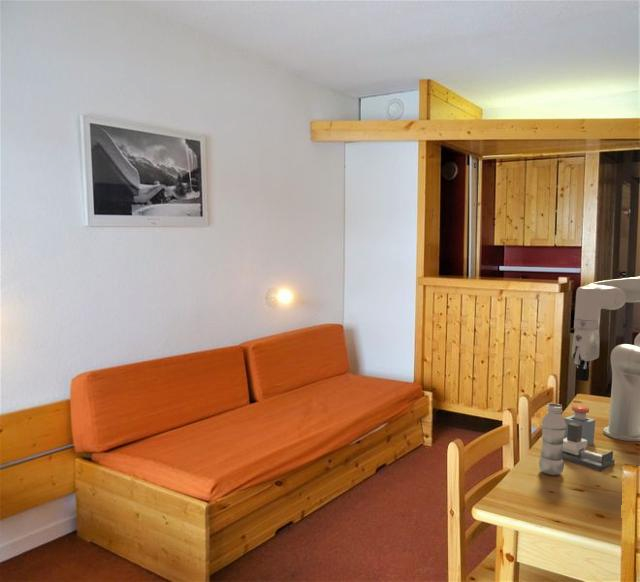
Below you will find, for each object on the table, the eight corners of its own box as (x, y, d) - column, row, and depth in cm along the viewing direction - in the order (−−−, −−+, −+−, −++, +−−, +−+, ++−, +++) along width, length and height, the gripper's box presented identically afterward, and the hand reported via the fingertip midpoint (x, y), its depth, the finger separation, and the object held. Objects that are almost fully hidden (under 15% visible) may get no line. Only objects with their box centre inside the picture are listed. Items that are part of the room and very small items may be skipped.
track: (569, 450, 190) (570, 436, 190) (614, 464, 180) (615, 449, 179) (555, 456, 185) (556, 442, 184) (600, 471, 174) (601, 456, 174)
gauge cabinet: (573, 437, 203) (574, 414, 202) (593, 443, 198) (595, 419, 197) (561, 441, 198) (563, 418, 197) (582, 448, 193) (584, 423, 192)
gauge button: (575, 418, 201) (576, 404, 201) (591, 423, 197) (592, 408, 197) (568, 421, 198) (569, 407, 197) (583, 426, 194) (584, 410, 193)
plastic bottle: (565, 479, 168) (570, 409, 166) (539, 476, 169) (544, 407, 167) (560, 470, 174) (565, 403, 172) (536, 467, 175) (540, 401, 173)
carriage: (571, 446, 189) (573, 420, 188) (586, 451, 185) (588, 424, 184) (559, 451, 184) (561, 424, 184) (575, 456, 181) (577, 428, 180)
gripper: (586, 328, 186) (582, 386, 188) (608, 324, 196) (604, 379, 198) (563, 325, 192) (560, 381, 194) (586, 321, 202) (582, 374, 204)
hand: (582, 380), depth 196 cm, fingers closed
